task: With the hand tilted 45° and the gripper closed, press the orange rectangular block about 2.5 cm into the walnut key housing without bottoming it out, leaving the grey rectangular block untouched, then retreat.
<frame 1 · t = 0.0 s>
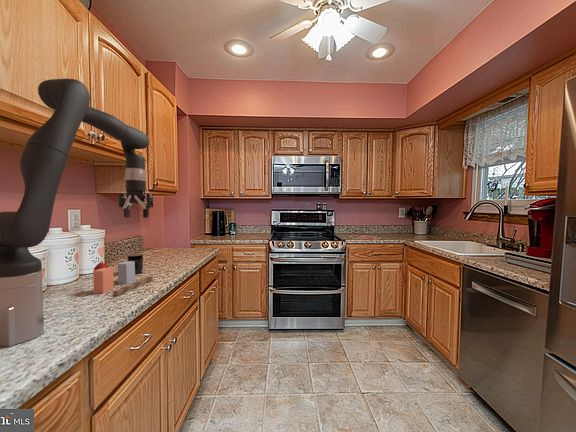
hand: (136, 217, 113), 29 cm above the counter, tool pointing down, fingers open, 8 cm apart
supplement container: (135, 276, 129), on the counter
grey rectangular block: (126, 272, 114), point 6 cm above the counter, slide at 0.0 cm
orange rectangular block: (103, 280, 102), point 6 cm above the counter, slide at 0.0 cm
onion: (101, 278, 125), on the counter
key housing: (122, 290, 108), on the counter
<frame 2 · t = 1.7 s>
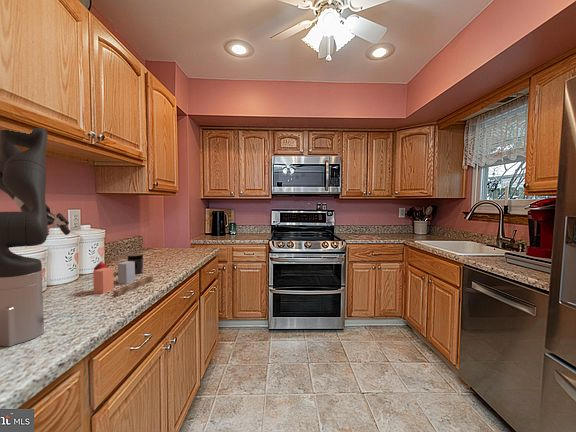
hand: (57, 234, 104), 23 cm above the counter, tool tilted 45°, fingers open, 8 cm apart
nothing on the counter moved.
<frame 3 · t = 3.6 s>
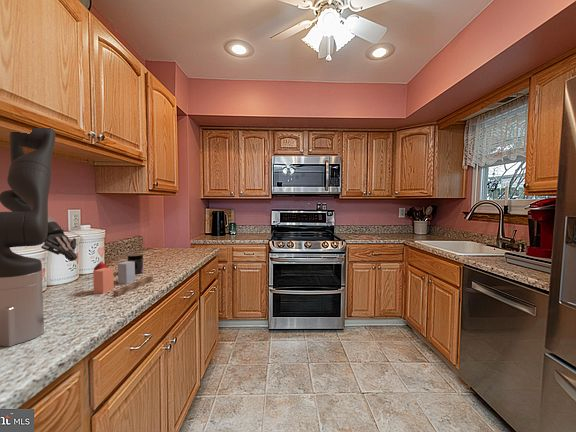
hand: (74, 259, 103), 13 cm above the counter, tool tilted 45°, fingers closed
nothing on the counter moved.
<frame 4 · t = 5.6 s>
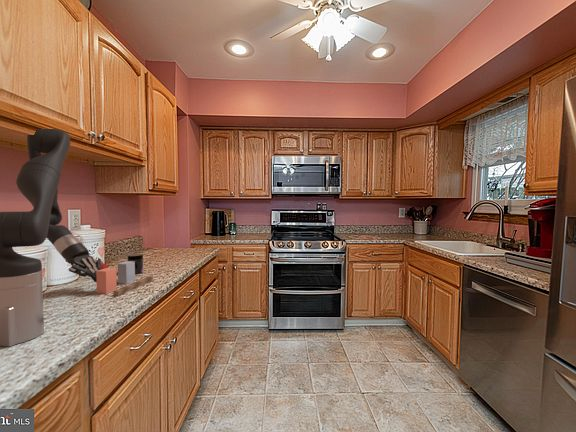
hand: (100, 281, 102), 5 cm above the counter, tool tilted 45°, fingers closed
orange rectangular block: (106, 280, 102), point 6 cm above the counter, slide at 1.3 cm, touching gripper
everything else where it was.
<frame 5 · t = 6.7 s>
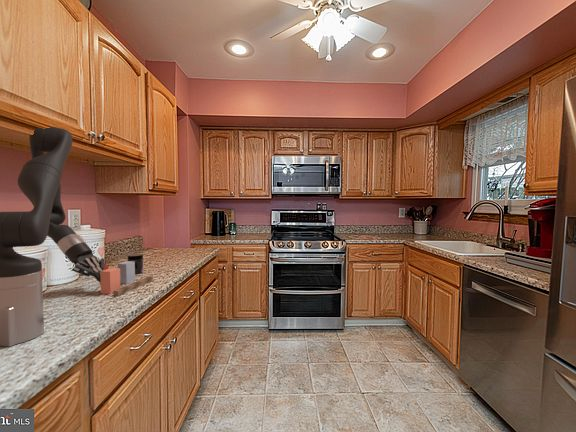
hand: (104, 280, 102), 5 cm above the counter, tool tilted 45°, fingers closed
orange rectangular block: (110, 280, 102), point 6 cm above the counter, slide at 3.0 cm
everything else where it was.
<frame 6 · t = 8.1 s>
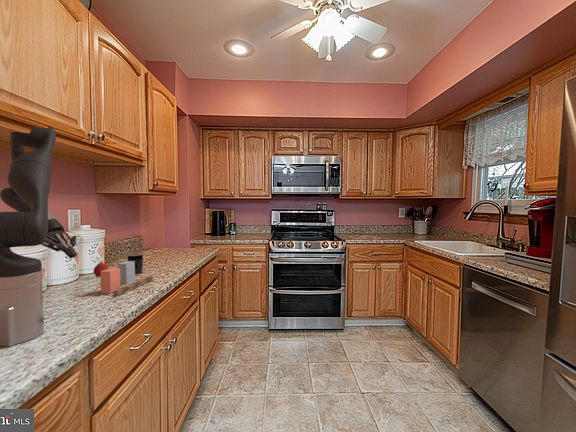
hand: (74, 256, 103), 14 cm above the counter, tool tilted 45°, fingers closed
nothing on the counter moved.
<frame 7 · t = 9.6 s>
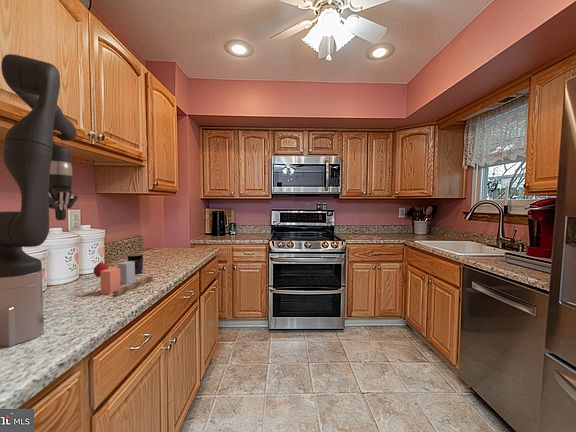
hand: (60, 219, 101), 29 cm above the counter, tool pointing down, fingers closed
nothing on the counter moved.
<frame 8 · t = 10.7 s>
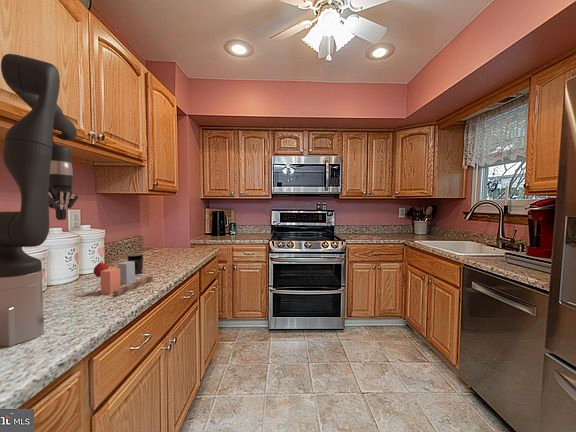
hand: (61, 219, 101), 29 cm above the counter, tool pointing down, fingers closed
nothing on the counter moved.
at the end: orange rectangular block slide at 3.0 cm; grey rectangular block slide at 0.0 cm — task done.
